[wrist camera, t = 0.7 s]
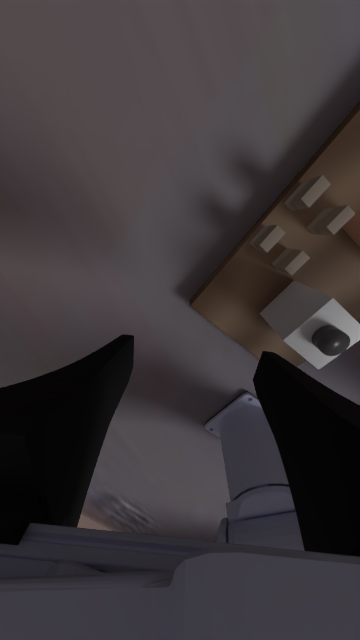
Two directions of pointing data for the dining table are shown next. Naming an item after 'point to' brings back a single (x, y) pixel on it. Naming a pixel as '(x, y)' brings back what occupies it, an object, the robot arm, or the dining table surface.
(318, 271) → the board
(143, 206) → the dining table surface
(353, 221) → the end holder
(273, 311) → the block
